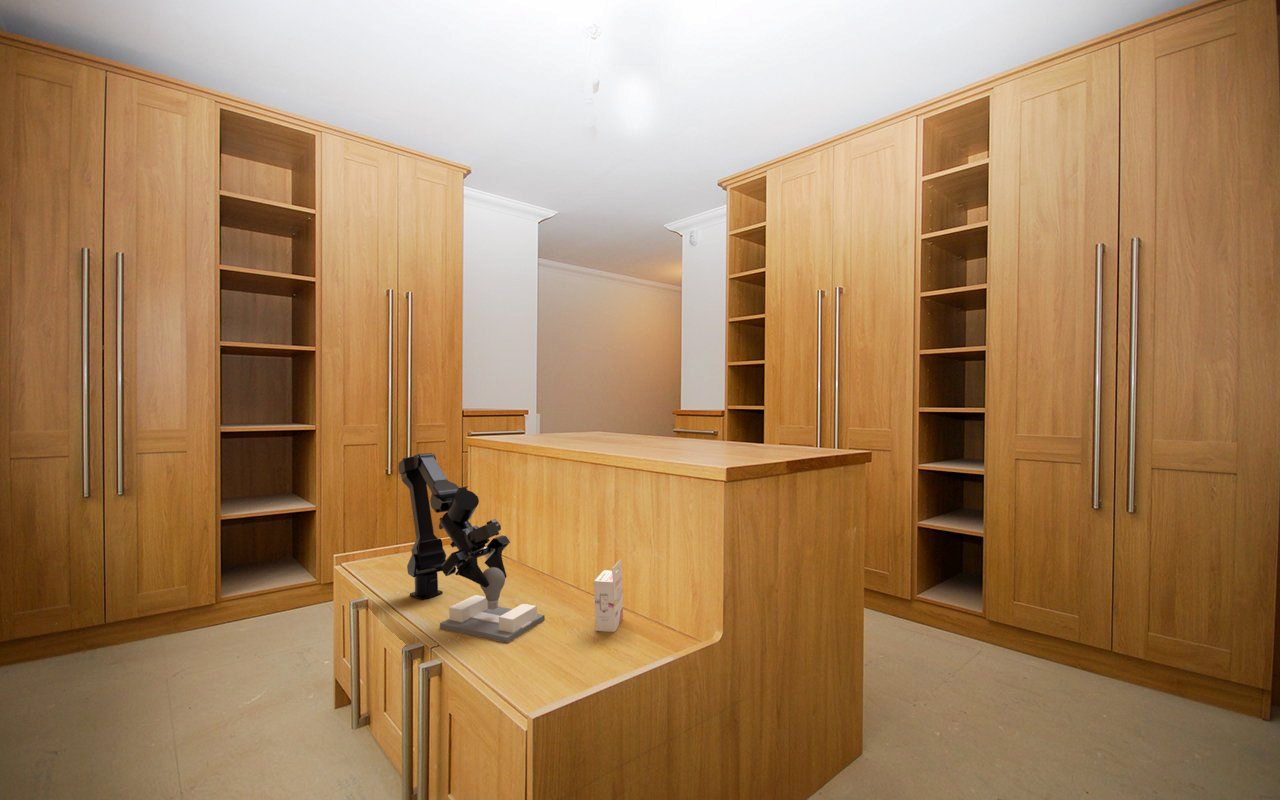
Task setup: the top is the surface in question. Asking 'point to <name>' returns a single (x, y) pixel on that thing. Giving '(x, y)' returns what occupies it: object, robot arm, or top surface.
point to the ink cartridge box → (609, 599)
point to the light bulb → (493, 586)
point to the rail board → (491, 619)
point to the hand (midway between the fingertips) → (496, 582)
